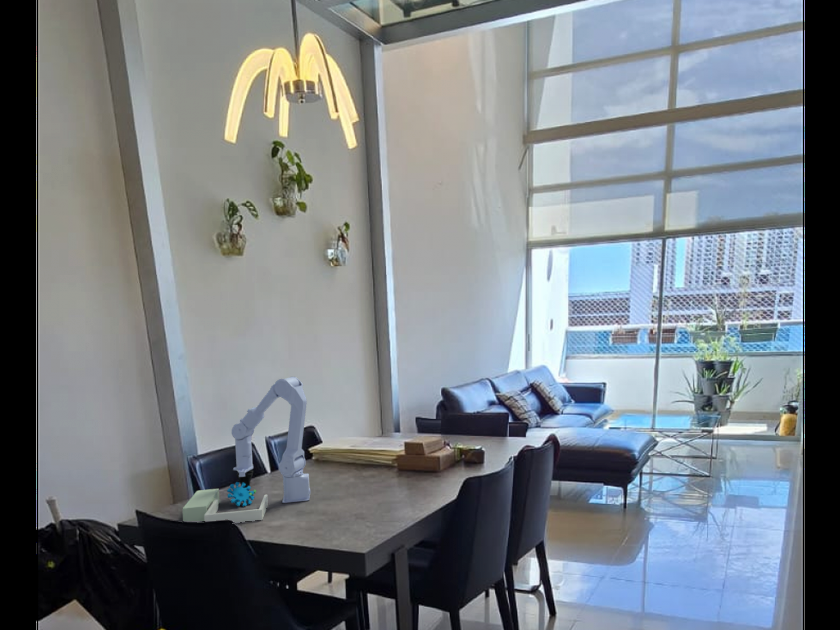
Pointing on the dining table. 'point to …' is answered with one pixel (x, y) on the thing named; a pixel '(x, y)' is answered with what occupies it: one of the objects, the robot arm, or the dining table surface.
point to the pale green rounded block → (199, 504)
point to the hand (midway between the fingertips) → (245, 491)
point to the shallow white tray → (236, 513)
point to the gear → (240, 494)
